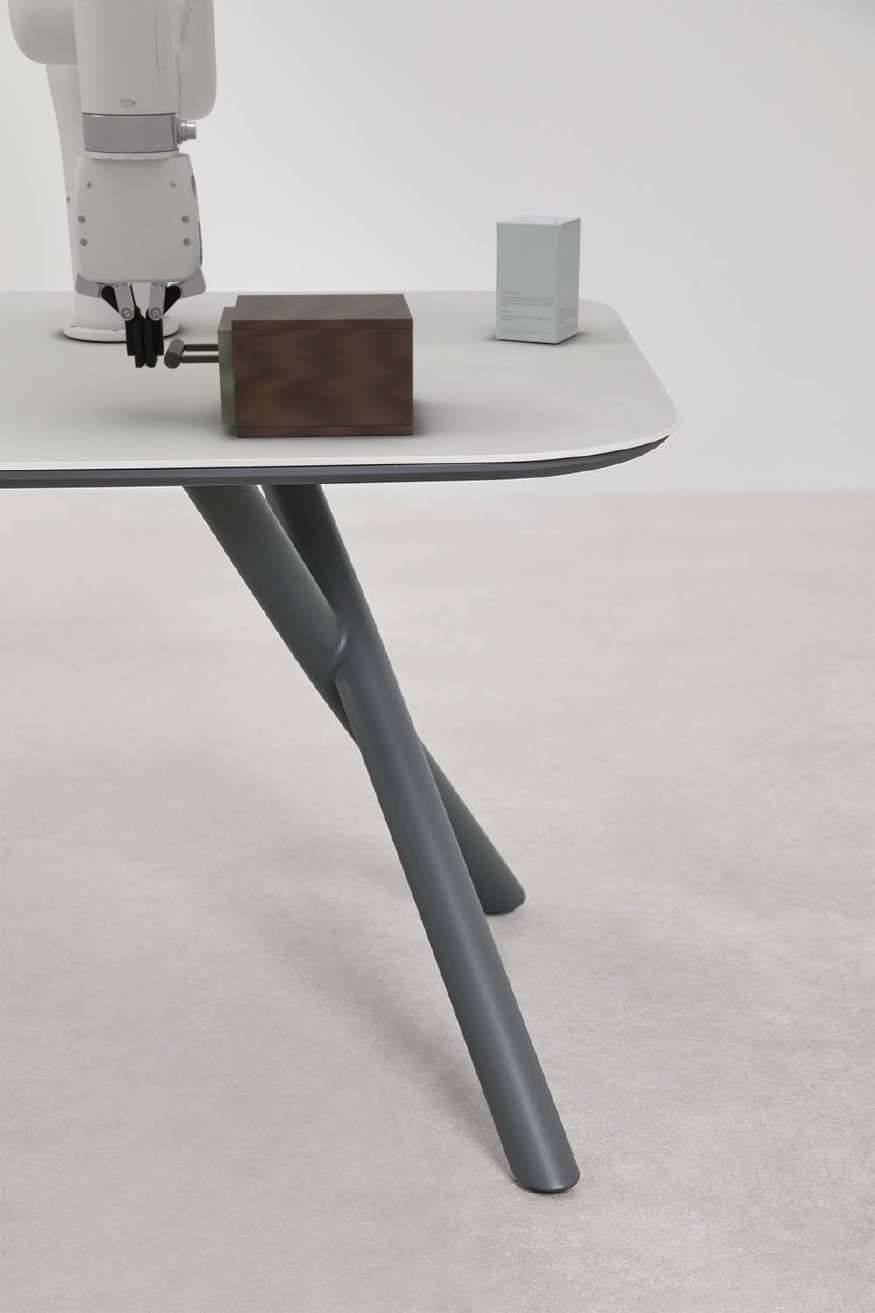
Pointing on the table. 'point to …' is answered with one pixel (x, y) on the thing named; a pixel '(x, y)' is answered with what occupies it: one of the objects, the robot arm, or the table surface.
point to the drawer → (223, 358)
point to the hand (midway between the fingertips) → (146, 363)
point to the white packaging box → (537, 278)
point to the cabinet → (323, 365)
